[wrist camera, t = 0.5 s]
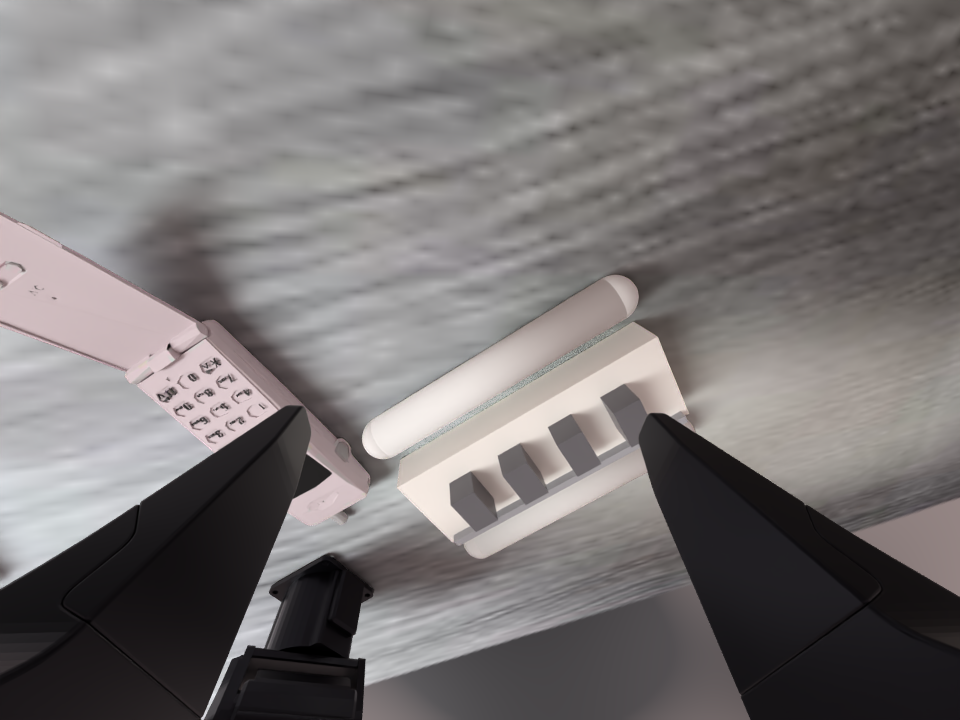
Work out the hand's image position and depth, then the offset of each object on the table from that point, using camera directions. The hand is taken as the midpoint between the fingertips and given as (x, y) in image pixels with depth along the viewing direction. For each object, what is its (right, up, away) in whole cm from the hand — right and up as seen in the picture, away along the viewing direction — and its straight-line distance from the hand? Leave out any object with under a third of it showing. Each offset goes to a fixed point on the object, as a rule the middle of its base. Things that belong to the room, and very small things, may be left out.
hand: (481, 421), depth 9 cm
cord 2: (+1, +2, +16) cm, 16 cm away
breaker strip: (+4, -3, +18) cm, 19 cm away
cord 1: (+7, -8, +21) cm, 24 cm away
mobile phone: (-16, 0, +15) cm, 22 cm away
